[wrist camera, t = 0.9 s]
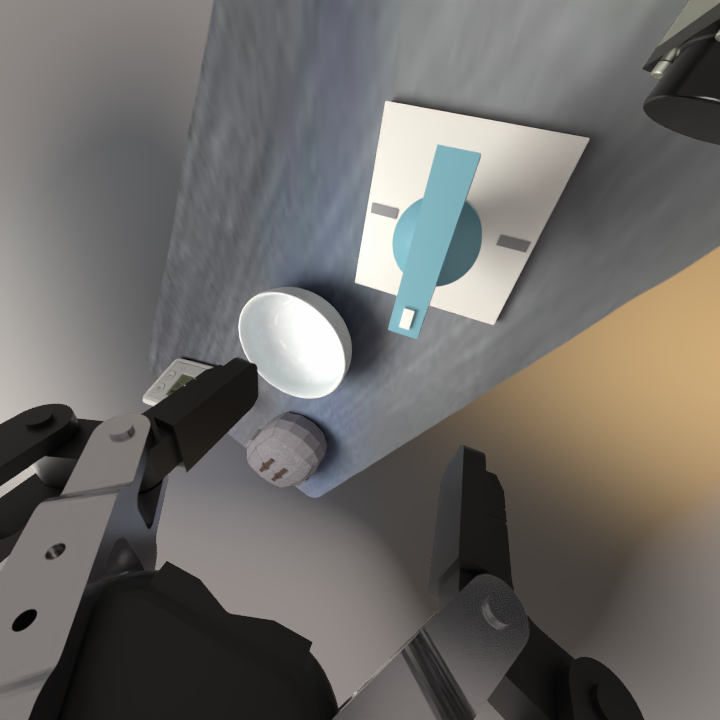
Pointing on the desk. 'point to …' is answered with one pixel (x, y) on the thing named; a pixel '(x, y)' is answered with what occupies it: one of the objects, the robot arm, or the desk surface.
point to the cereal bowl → (296, 341)
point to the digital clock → (173, 379)
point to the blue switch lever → (436, 237)
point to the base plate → (487, 194)
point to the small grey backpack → (287, 450)
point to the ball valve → (688, 74)
